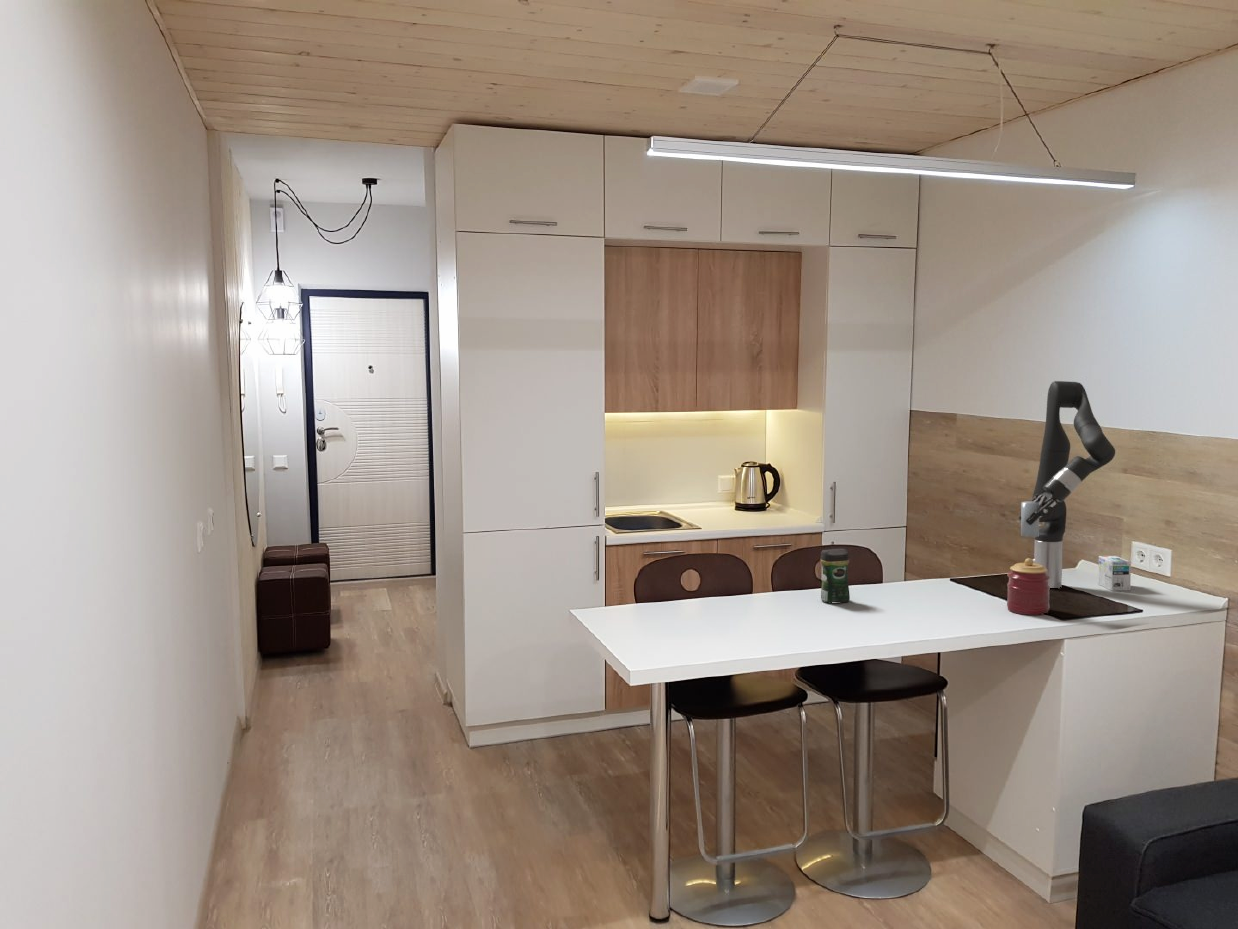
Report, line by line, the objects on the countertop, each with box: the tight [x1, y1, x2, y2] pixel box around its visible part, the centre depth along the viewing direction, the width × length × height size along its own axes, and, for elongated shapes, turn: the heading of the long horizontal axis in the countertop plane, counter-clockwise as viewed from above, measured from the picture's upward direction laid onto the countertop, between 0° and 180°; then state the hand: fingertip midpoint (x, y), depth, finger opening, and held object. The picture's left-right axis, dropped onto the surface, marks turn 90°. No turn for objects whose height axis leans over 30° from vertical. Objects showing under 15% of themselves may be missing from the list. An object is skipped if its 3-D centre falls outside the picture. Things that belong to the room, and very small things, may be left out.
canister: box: [1006, 557, 1051, 616], centre depth 307 cm, size 13×13×18 cm
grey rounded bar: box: [1020, 500, 1040, 538], centre depth 305 cm, size 5×5×11 cm
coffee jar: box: [820, 548, 851, 604], centre depth 326 cm, size 10×8×19 cm
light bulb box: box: [1097, 555, 1132, 592], centre depth 336 cm, size 11×7×11 cm, turn 179°
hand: (1024, 521), depth 305 cm, fingers closed on grey rounded bar, 5 cm apart
